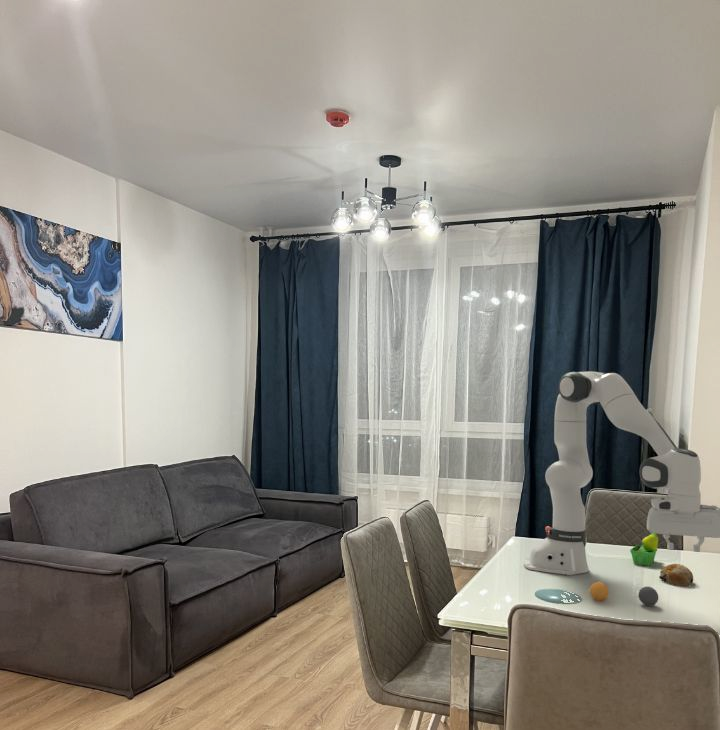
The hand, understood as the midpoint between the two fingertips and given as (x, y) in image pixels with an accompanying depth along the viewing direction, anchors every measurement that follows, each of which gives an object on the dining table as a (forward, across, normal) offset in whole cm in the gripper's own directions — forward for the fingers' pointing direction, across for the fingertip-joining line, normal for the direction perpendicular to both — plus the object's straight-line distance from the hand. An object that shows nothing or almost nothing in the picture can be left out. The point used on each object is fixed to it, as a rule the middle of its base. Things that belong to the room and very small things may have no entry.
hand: (683, 550), depth 198 cm
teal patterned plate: (+17, +36, 0) cm, 39 cm away
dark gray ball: (+14, +10, 0) cm, 17 cm away
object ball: (+14, +24, 0) cm, 28 cm away
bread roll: (+18, -4, -30) cm, 35 cm away
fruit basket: (+18, +2, -54) cm, 57 cm away
